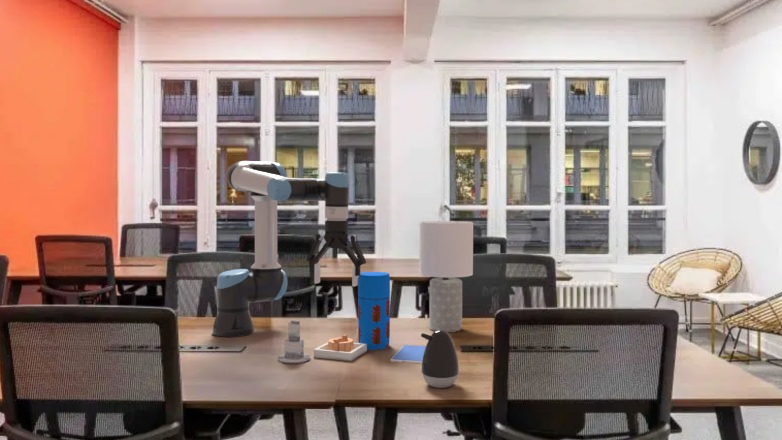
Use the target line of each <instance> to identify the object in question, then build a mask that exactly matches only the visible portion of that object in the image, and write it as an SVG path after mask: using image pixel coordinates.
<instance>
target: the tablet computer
mask: <svg viewBox="0 0 782 440" xmlns="http://www.w3.org/2000/svg"><path fill="white" fill-rule="evenodd" d="M425 348H426V345H414V344H413V345H411V344H405V345H403V346H401V348H400V349H399V350H398V351H397V352H396V353H395V354H394V355H393V356H392V357H391V358H390V361H389V362H392V361H395V363H405V362H407V363H408V364H420V365H422V360H423V355H424V351H425ZM407 363H406V364H407Z"/></svg>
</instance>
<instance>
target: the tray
mask: <svg viewBox="0 0 782 440" xmlns="http://www.w3.org/2000/svg"><path fill="white" fill-rule="evenodd" d="M366 352H368V349H367V344H363V343H359V342H353V350H352V351H351V352H342V351H332V350H328V342H326V343H324V344H321V345H320V346H317V347H315V348H313V358H318V359H328V360H338V361H347V362H352V361H354V360H355V359H357V358H358V357H360V356H362V355H363V354H365V353H366Z"/></svg>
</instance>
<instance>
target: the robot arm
mask: <svg viewBox="0 0 782 440" xmlns="http://www.w3.org/2000/svg"><path fill="white" fill-rule="evenodd" d="M225 178H226V181H227V184H228V186H229V187H230V188H231V189H233V190H235V191H239V192H249V193H250V198H252V199H253V201H254V263H253V264H252V265H251V266H250V271H249V269H247V268H240V269H239V268H238V269H230V270H227V271H223V272H221V273H219V275H218V276H217V279H216V280H217V281H216V304H217V307H216V309H217V312H216V316H215V319H214V321H213V322H214V323H213V325H212V335H214V336H216V337H226V338H233V337H234V338H235V337H242V336H243V337H244V336H248V335H251V334H253V333H254V332H255V325H254V322H253V319H252V315H251V313H250V304H251V303H252V304H253V303H259V302H262V303H263V302H272V301H277V300H280V299H281V298H282V297H283V296H284V295H285V294H286V292H287V289H288V277H287V273H286V271H284V270H282V265H281V264H280V263H279V262H278V202H285V201H286V202H290V201H292V202H293V201H294V202H296V201H297V202H298V201H299V202H324V207H325V208H324V218H325V219H326V220H325V221H324V232H325V233H324V234H323V233H317V234H315V239H314V240H315V241H314V243H313V245H312V247H311V249H310V251H309V254H308V256H307V258H306V261H307V262H311V265H312V267H311V268H312V269H311V271H312V273H313V274H314V276H313V277H314V281H313V282H314V284H319V283H321V262H319V261H321V260H322V258H323V257H324V255H325V254H326V253H327V252H328V250H329V249H339V250H340V249H341V250H342V251H344V252H345V254H346V255H347V257H348V258H349V259H350V260H351V262H352V264H353V265H352V266H351V267H352V268H351V269H352V270H351V275H352V276H351V278H352V279H351V283H352V284H351V287H357V286H358V277H359V276H360V273H361V266H362V265H365V264H366V263H367V260H366V258H365V256H364V253H363V252H362V249H361V246H360V245H359V242H358V235H357V234H353V235H349V221H348V219H349V192H350V191H349V189H350V188H349V187H350V184H349V175H348V173H346V172H336V171H335V172H332V171H331V172H330V171H329V172H326V173H325V178H319V177H313V178H309V177H308V178H307V177H304V178H303V177H288V175H287V172H286V169H285V168H284V166H283V165H282V164H280V163H279V162H274V161H262V160H261V161H259V160H258V161H257V160H256V161H253V160H241V161H240V160H239V161H236V162H234V163H233V164H231V165H230V166H229V167H228V169H227V171H226V173H225ZM322 241H325V243H324V244H323V245H322V247H321V249H320V246H321V244H322ZM348 241H349V242H350V244H351V246H352V248H353V250H352V248H351V247H350V245H349V244H348V243H347V242H348ZM319 249H320V250H319ZM318 250H319V251H318ZM317 252H318V253H317Z"/></svg>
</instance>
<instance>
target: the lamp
mask: <svg viewBox="0 0 782 440" xmlns="http://www.w3.org/2000/svg"><path fill="white" fill-rule="evenodd" d="M418 272H419V275H420V276H424V277H430V278H431V279H430V280H429V330H431V331H433V332H435V331H437V330H444V331H446V332H447V333H455V332H456V331H457V332H460V331H461V330H462V328H463V280H461V279H460V278H467V277H471V276H473V275H474V222H472V221H462V220H461V221H459V220H457V221H456V220H454V221H451V220H450V221H448V220H447V221H446V220H444V221H443V220H435V221H434V220H431V221H429V220H427V221H420V222H419V271H418Z"/></svg>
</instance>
